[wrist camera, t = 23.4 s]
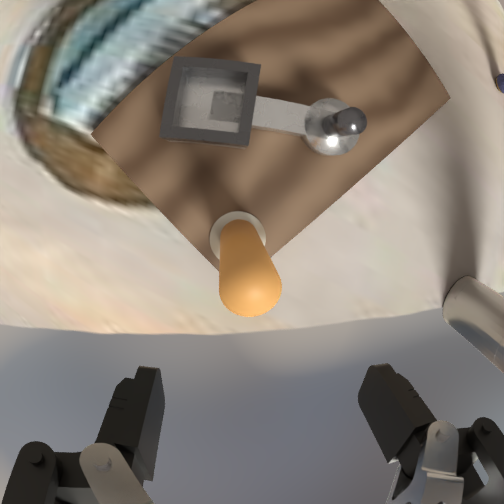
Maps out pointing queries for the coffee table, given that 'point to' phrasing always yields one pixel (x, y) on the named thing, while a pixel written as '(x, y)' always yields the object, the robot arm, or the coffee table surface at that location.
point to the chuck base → (274, 143)
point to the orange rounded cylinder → (246, 271)
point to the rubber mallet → (500, 82)
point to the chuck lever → (248, 109)
